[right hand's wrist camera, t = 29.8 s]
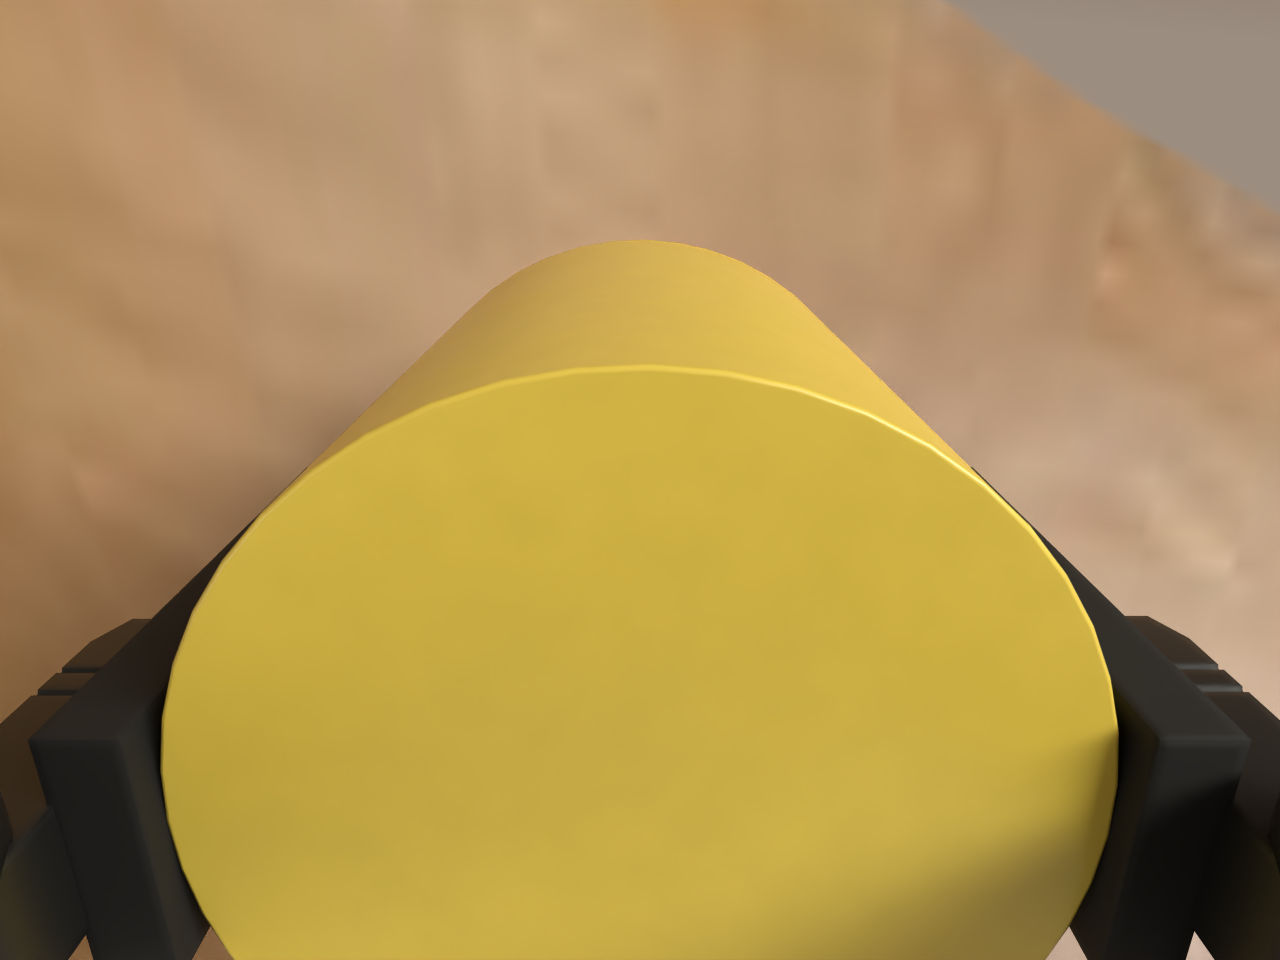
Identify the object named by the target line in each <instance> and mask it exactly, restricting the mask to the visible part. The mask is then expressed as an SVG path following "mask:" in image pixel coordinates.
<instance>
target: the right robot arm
mask: <svg viewBox="0 0 1280 960" xmlns="http://www.w3.org/2000/svg"><path fill="white" fill-rule="evenodd" d="M307 468H308V467H307ZM307 468H306V469H307ZM970 468H972V469H973V470H974V471H975V472H976V473H977V474H978V475H979V476H980V477H981V478H982V479H983V480H984V481H985V482H986V483H987V484H988V485H989V486H990V487H991V488H992V489H993V490H994V491H995V492H996V493H997V494H998V495H999V496H1000V497H1001V498H1002V499H1003V500H1004V501H1005V502H1006V503H1007V504H1008V505H1009V506H1010V507H1011V508H1012V509H1013V510H1014V511H1015V512H1016V513H1018V514H1019V515H1020V516H1021V517H1022V518H1023V519H1024V520H1025V521H1026V522H1027V523H1028V524H1029V525H1030V526H1031V528H1032V529H1033V530H1034V532H1035V533H1036V534H1037V536H1038V537H1039V538H1040V540H1041V541H1042V542H1043V544H1044V545H1045V546H1046V548H1047V549H1048V550H1049V552H1050V553H1051V554H1052V556H1053V557H1054V558H1055V560H1056V561H1057V562H1058V564H1059V565H1060V566H1061V568H1062V569H1063V570H1064V572H1065V573H1066V574H1067V576H1068V578H1069V580H1070V582H1071V584H1072V586H1073V588H1074V590H1075V591H1076V593H1077V595H1078V597H1079V599H1080V601H1081V603H1082V605H1083V607H1084V609H1085V611H1086V612H1087V614H1088V616H1089V618H1090V620H1091V622H1092V624H1093V626H1094V629H1095V632H1096V635H1097V638H1098V641H1099V644H1100V647H1101V651H1102V654H1103V657H1104V660H1105V663H1106V666H1107V669H1108V672H1109V675H1110V678H1111V685H1112V691H1113V698H1114V705H1115V712H1116V718H1117V725H1118V732H1119V745H1118V787H1117V792H1116V797H1115V803H1114V808H1113V814H1112V819H1111V825H1110V830H1109V835H1108V838H1107V841H1106V844H1105V847H1104V850H1103V853H1102V855H1101V858H1100V861H1099V864H1098V867H1097V870H1096V873H1095V876H1094V878H1093V881H1092V883H1091V885H1090V887H1089V889H1088V891H1087V893H1086V895H1085V897H1084V899H1083V901H1082V903H1081V905H1080V906H1079V908H1078V910H1077V912H1076V914H1075V916H1074V918H1073V920H1072V922H1071V924H1070V926H1069V927H1070V929H1071V930H1072V932H1073V934H1074V936H1075V938H1076V940H1077V941H1078V943H1079V945H1080V947H1081V949H1082V951H1083V952H1084V954H1085V956H1086V958H1087V960H1186V957H1187V954H1188V950H1189V947H1190V944H1191V940H1192V937H1193V934H1194V931H1195V933H1196V934H1197V935H1198V937H1199V938H1200V940H1201V941H1202V942H1203V944H1204V945H1205V947H1206V948H1207V950H1208V951H1209V952H1210V954H1211V955H1212V957H1213V958H1214V960H1280V720H1279V719H1278V718H1277V717H1276V716H1275V715H1273V714H1272V713H1271V712H1270V711H1269V710H1268V709H1267V708H1266V707H1265V706H1263V705H1262V704H1261V703H1260V702H1259V701H1258V700H1257V699H1256V698H1255V697H1253V696H1252V695H1251V694H1250V693H1249V692H1243V690H1242V686H1241V685H1240V684H1239V683H1238V682H1237V681H1236V680H1235V679H1233V678H1232V677H1231V676H1230V675H1229V674H1228V673H1227V672H1226V671H1225V670H1219V669H1218V664H1217V663H1216V662H1215V661H1214V660H1212V659H1211V658H1210V657H1209V656H1208V655H1207V654H1206V653H1205V652H1204V651H1202V650H1201V649H1200V648H1199V647H1198V646H1197V645H1196V644H1195V643H1194V642H1192V641H1191V640H1190V639H1189V638H1187V637H1186V636H1184V635H1182V634H1180V633H1178V632H1176V631H1174V630H1172V629H1171V628H1169V627H1167V626H1165V625H1163V624H1161V623H1159V622H1157V621H1156V620H1154V619H1152V618H1150V617H1148V616H1124V615H1123V614H1122V613H1121V612H1120V611H1119V610H1118V609H1117V608H1116V607H1115V606H1114V605H1113V604H1112V603H1111V602H1110V601H1109V600H1108V599H1107V598H1106V597H1105V596H1104V595H1103V594H1102V593H1101V592H1100V591H1099V590H1098V589H1097V588H1095V587H1094V586H1093V585H1092V584H1091V583H1090V582H1089V581H1088V580H1087V579H1086V578H1085V577H1084V576H1083V575H1082V574H1081V573H1080V572H1079V571H1078V570H1077V569H1076V568H1075V567H1074V566H1073V565H1072V564H1071V563H1070V562H1069V561H1068V560H1067V559H1066V558H1065V557H1064V556H1063V555H1062V554H1061V553H1060V552H1059V551H1058V550H1057V549H1056V548H1055V547H1053V546H1052V545H1051V544H1050V543H1049V542H1048V541H1047V540H1046V539H1045V538H1044V537H1043V536H1042V535H1041V534H1040V533H1039V532H1038V531H1037V530H1036V529H1035V528H1034V527H1033V526H1032V525H1031V524H1030V523H1029V522H1028V521H1027V520H1026V519H1025V518H1024V517H1023V516H1022V515H1021V514H1020V513H1019V512H1018V511H1017V510H1016V509H1015V508H1014V507H1012V506H1011V505H1010V504H1009V503H1008V502H1007V501H1006V500H1005V499H1004V498H1003V497H1002V496H1001V495H1000V494H999V493H998V492H997V491H996V490H995V489H994V488H993V487H992V486H991V485H990V484H989V483H988V482H987V481H986V480H985V479H984V478H983V477H982V476H981V475H980V474H979V473H978V472H977V471H976V470H975V469H974V468H973V467H970ZM306 469H305V470H306ZM305 470H304V471H305ZM304 471H303V472H304ZM291 483H292V482H291ZM291 483H290V484H291ZM290 484H289V485H290ZM289 485H288V486H289ZM288 486H287V487H288ZM287 487H286V488H287ZM286 488H285V489H286ZM285 489H284V490H285ZM284 490H283V491H284ZM283 491H282V492H283ZM282 492H281V493H282ZM281 493H280V494H281ZM280 494H279V495H280ZM279 495H278V496H279ZM278 496H277V497H278ZM277 497H276V498H277ZM276 498H275V499H276ZM275 499H274V500H275ZM274 500H273V501H274ZM273 501H272V502H273ZM272 502H271V503H272ZM271 503H270V504H271ZM270 504H269V505H270ZM269 505H268V506H269ZM268 506H267V507H268ZM267 507H266V508H267ZM266 508H265V509H266ZM265 509H264V510H265ZM260 514H261V513H260ZM260 514H259V515H260ZM259 515H258V516H259ZM258 516H257V517H258ZM257 517H256V518H257ZM256 518H255V519H254V520H253V521H252V522H250V523H249V524H248V525H247V526H246V527H245V528H244V529H243V530H242V531H241V532H240V533H239V534H238V535H237V536H236V537H235V538H234V539H233V540H232V541H231V542H230V543H229V544H228V545H227V546H226V547H225V548H224V549H223V550H222V551H221V552H220V553H219V554H218V555H217V556H216V557H215V558H214V559H213V560H212V561H210V562H209V563H208V564H207V565H206V566H205V567H204V568H203V569H202V570H201V571H200V572H199V573H198V574H197V575H196V576H195V577H194V578H193V579H192V580H191V581H190V582H189V583H188V584H187V585H186V586H185V587H184V588H183V589H182V590H181V591H180V592H179V593H178V594H177V595H176V596H175V597H174V598H173V599H172V600H171V601H169V602H168V603H167V604H166V605H165V606H164V607H163V608H162V609H161V610H160V611H159V612H158V613H157V614H156V615H155V616H154V617H153V618H152V619H132V620H130V621H128V622H126V623H125V624H123V625H121V626H119V627H117V628H115V629H113V630H112V631H110V632H108V633H106V634H104V635H102V636H100V637H99V638H97V639H95V640H93V641H91V642H90V643H89V644H88V645H87V646H86V647H84V648H83V649H82V650H81V651H80V652H79V653H78V654H77V655H76V656H75V657H73V658H72V659H71V660H70V661H69V662H68V663H67V664H66V665H65V666H64V667H62V673H56V674H55V675H54V676H53V677H51V678H50V679H49V680H48V681H47V682H46V683H45V684H44V685H43V686H42V687H40V688H39V689H38V694H37V696H31V697H29V698H28V699H27V700H26V701H25V702H24V703H23V704H22V705H21V706H20V707H18V708H17V709H16V710H15V711H14V712H13V713H12V714H11V715H10V716H9V717H7V718H6V719H5V720H4V721H3V722H2V723H1V724H0V960H68V959H69V958H70V956H71V955H72V954H73V952H74V951H75V949H76V948H77V946H78V945H79V944H80V942H81V941H82V939H83V938H84V936H85V935H86V936H87V939H88V943H89V946H90V949H91V953H92V956H93V959H94V960H192V959H193V957H194V955H195V953H196V951H197V949H198V948H199V946H200V944H201V942H202V940H203V938H204V937H205V935H206V933H207V931H208V929H209V927H210V924H209V923H208V921H207V920H206V918H205V917H204V915H203V913H202V911H201V909H200V907H199V905H198V903H197V901H196V899H195V896H194V894H193V892H192V890H191V888H190V886H189V884H188V882H187V879H186V877H185V875H184V873H183V871H182V869H181V866H180V862H179V859H178V856H177V852H176V849H175V845H174V842H173V839H172V835H171V832H170V829H169V825H168V822H167V816H166V809H165V802H164V794H163V787H162V779H161V772H160V764H161V730H162V714H163V709H164V704H165V699H166V694H167V689H168V684H169V679H170V674H171V669H172V664H173V661H174V658H175V656H176V653H177V650H178V648H179V645H180V642H181V640H182V637H183V635H184V632H185V629H186V627H187V624H188V621H189V619H190V616H191V614H192V611H193V609H194V607H195V606H196V604H197V602H198V601H199V599H200V597H201V595H202V594H203V592H204V590H205V589H206V587H207V585H208V584H209V582H210V580H211V578H212V577H213V575H214V573H215V572H216V570H217V568H218V566H219V565H220V563H221V561H222V560H223V559H224V557H225V556H226V555H227V554H228V552H229V551H230V550H231V549H232V548H233V546H234V545H235V544H236V543H237V542H238V540H239V539H240V538H241V537H242V535H243V534H244V533H245V532H246V531H247V529H248V528H249V527H250V526H251V525H252V523H253V522H254V521H255V520H256Z"/></svg>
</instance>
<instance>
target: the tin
mask: <svg viewBox="0 0 1280 960" xmlns="http://www.w3.org/2000/svg"><path fill="white" fill-rule="evenodd" d="M1118 745H1119V732H1118V725H1117V718H1116V712H1115V705H1114V698H1113V691H1112V685H1111V678H1110V675H1109V672H1108V669H1107V666H1106V663H1105V660H1104V657H1103V654H1102V651H1101V647H1100V644H1099V641H1098V638H1097V635H1096V632H1095V629H1094V626H1093V624H1092V622H1091V620H1090V618H1089V616H1088V614H1087V612H1086V611H1085V609H1084V607H1083V605H1082V603H1081V601H1080V599H1079V597H1078V595H1077V593H1076V591H1075V590H1074V588H1073V586H1072V584H1071V582H1070V580H1069V578H1068V576H1067V574H1066V573H1065V572H1064V570H1063V569H1062V568H1061V566H1060V565H1059V564H1058V562H1057V561H1056V560H1055V558H1054V557H1053V556H1052V554H1051V553H1050V552H1049V550H1048V549H1047V548H1046V546H1045V545H1044V544H1043V542H1042V541H1041V540H1040V538H1039V537H1038V536H1037V534H1036V533H1035V532H1034V530H1033V529H1032V528H1031V526H1030V525H1029V524H1028V523H1027V522H1026V521H1025V520H1024V519H1023V518H1022V517H1021V516H1020V515H1019V514H1018V513H1016V512H1015V511H1014V510H1013V509H1012V508H1011V507H1010V506H1009V505H1008V504H1007V503H1006V502H1005V501H1004V500H1003V499H1002V498H1001V497H1000V496H999V495H998V494H997V493H996V492H995V491H994V490H993V489H992V488H991V487H990V486H989V485H988V484H987V483H986V482H985V481H984V480H983V479H982V478H981V477H980V476H979V475H978V474H977V473H976V472H975V471H974V470H973V469H972V468H970V467H969V466H968V465H967V464H966V463H965V462H964V461H963V460H962V459H961V458H960V457H959V456H958V455H957V454H956V453H955V452H954V451H953V450H952V449H951V448H950V447H949V446H948V445H947V444H946V443H945V442H944V441H943V440H942V439H941V438H940V437H939V436H938V435H937V434H936V433H935V432H934V431H933V430H932V429H931V428H930V427H929V426H928V425H927V424H926V423H924V422H923V421H922V420H921V419H920V418H919V417H918V416H917V415H916V414H915V413H914V412H913V411H912V410H911V409H910V408H909V407H908V406H907V405H906V404H905V403H904V402H903V401H902V400H901V399H900V398H899V397H898V396H897V395H896V394H895V393H894V392H893V391H892V390H891V389H890V388H889V387H888V386H887V385H886V384H885V383H884V382H883V381H882V380H881V379H880V378H878V377H877V376H876V375H875V374H874V373H873V372H872V371H871V370H870V369H869V368H868V367H867V366H866V365H865V364H864V363H863V362H862V361H861V360H860V359H859V358H858V357H857V356H856V355H855V354H854V353H853V352H852V351H851V350H850V349H849V348H848V347H847V346H846V345H845V344H844V343H843V342H842V341H841V340H840V339H839V338H838V337H837V336H836V335H835V334H834V333H832V332H831V331H830V330H829V329H828V328H827V327H826V326H825V325H824V324H823V323H822V322H821V321H820V320H819V319H818V318H817V317H816V316H815V315H814V314H813V313H812V312H811V311H810V310H809V309H808V308H807V307H806V306H805V305H804V304H803V303H802V302H801V301H800V300H799V299H798V298H797V297H796V296H795V295H793V294H792V293H790V292H789V291H788V290H786V289H785V288H784V287H782V286H781V285H780V284H778V283H777V282H775V281H774V280H773V279H771V278H770V277H769V276H767V275H765V274H763V273H761V272H759V271H757V270H756V269H754V268H752V267H750V266H748V265H746V264H744V263H743V262H741V261H738V260H736V259H733V258H730V257H728V256H725V255H722V254H719V253H717V252H714V251H711V250H708V249H704V248H699V247H695V246H690V245H686V244H682V243H677V242H665V241H654V240H628V241H610V242H605V243H599V244H594V245H589V246H583V247H578V248H575V249H572V250H569V251H566V252H563V253H560V254H557V255H554V256H551V257H548V258H546V259H544V260H542V261H540V262H538V263H535V264H533V265H531V266H529V267H527V268H525V269H523V270H521V271H519V272H517V273H516V274H514V275H513V276H512V277H510V278H509V279H507V280H506V281H504V282H503V283H501V284H500V285H498V286H497V287H495V288H494V289H492V290H491V291H490V292H489V293H488V294H487V295H485V296H484V297H483V298H482V299H481V300H480V301H479V302H478V303H477V304H475V305H474V306H473V307H472V308H471V309H470V310H469V311H468V312H467V313H466V314H465V315H464V316H463V317H462V318H460V319H459V320H458V321H457V322H456V323H455V324H454V325H453V326H452V327H451V328H450V329H449V330H448V331H447V332H446V333H445V334H444V335H443V336H442V337H441V338H440V339H439V340H438V341H437V342H436V343H435V344H434V345H433V346H432V347H431V348H430V349H429V350H428V351H427V352H426V353H425V354H424V355H423V356H421V357H420V358H419V359H418V360H417V361H416V362H415V363H414V364H413V365H412V366H411V367H410V368H409V369H408V370H407V371H406V372H405V373H404V374H403V375H402V376H401V377H400V378H399V379H398V380H397V381H396V382H395V383H394V384H393V385H392V386H391V387H390V388H389V389H388V390H387V391H386V392H385V393H384V394H383V395H381V396H380V397H379V398H378V399H377V400H376V401H375V402H374V403H373V404H372V405H371V406H370V407H369V408H368V409H367V410H366V411H365V412H364V413H363V414H362V415H361V416H360V417H359V418H358V419H357V420H356V421H355V422H354V423H353V424H352V425H351V426H350V427H349V428H348V429H347V430H346V431H345V432H344V433H342V434H341V435H340V436H339V437H338V438H337V439H336V440H335V441H334V442H333V443H332V444H331V445H330V446H329V447H328V448H327V449H326V450H325V451H324V452H323V453H322V454H321V455H320V456H319V457H318V458H317V459H316V460H315V461H314V462H313V463H312V464H311V465H310V466H309V467H308V468H307V469H306V470H305V471H304V472H302V473H301V474H300V475H299V476H298V477H297V478H296V479H295V480H294V481H293V482H292V483H291V484H290V485H289V486H288V487H287V488H286V489H285V490H284V491H283V492H282V493H281V494H280V495H279V496H278V497H277V498H276V499H275V500H274V501H273V502H272V503H271V504H270V505H269V506H268V507H267V508H266V509H265V510H263V511H262V512H261V514H260V515H259V516H258V517H257V518H256V520H255V521H254V522H253V523H252V525H251V526H250V527H249V528H248V529H247V531H246V532H245V533H244V534H243V535H242V537H241V538H240V539H239V540H238V542H237V543H236V544H235V545H234V546H233V548H232V549H231V550H230V551H229V552H228V554H227V555H226V556H225V557H224V559H223V560H222V561H221V563H220V565H219V566H218V568H217V570H216V572H215V573H214V575H213V577H212V578H211V580H210V582H209V584H208V585H207V587H206V589H205V590H204V592H203V594H202V595H201V597H200V599H199V601H198V602H197V604H196V606H195V607H194V609H193V611H192V614H191V616H190V619H189V621H188V624H187V627H186V629H185V632H184V635H183V637H182V640H181V642H180V645H179V648H178V650H177V653H176V656H175V658H174V661H173V664H172V669H171V674H170V679H169V684H168V689H167V694H166V699H165V704H164V709H163V714H162V730H161V764H160V772H161V779H162V787H163V794H164V802H165V809H166V816H167V822H168V825H169V829H170V832H171V835H172V839H173V842H174V845H175V849H176V852H177V856H178V859H179V862H180V866H181V869H182V871H183V873H184V875H185V877H186V879H187V882H188V884H189V886H190V888H191V890H192V892H193V894H194V896H195V899H196V901H197V903H198V905H199V907H200V909H201V911H202V913H203V915H204V917H205V918H206V920H207V921H208V923H209V924H210V926H211V927H212V929H213V930H214V932H215V933H216V935H217V936H218V938H219V939H220V941H221V943H222V944H223V946H224V947H225V949H226V950H227V952H228V953H229V955H230V956H231V957H232V958H233V960H1045V959H1046V958H1047V957H1048V955H1049V954H1050V952H1051V951H1052V950H1053V948H1054V947H1055V945H1056V944H1057V943H1058V941H1059V940H1060V938H1061V937H1062V936H1063V934H1064V933H1065V931H1066V930H1067V928H1068V927H1069V926H1070V924H1071V922H1072V920H1073V918H1074V916H1075V914H1076V912H1077V910H1078V908H1079V906H1080V905H1081V903H1082V901H1083V899H1084V897H1085V895H1086V893H1087V891H1088V889H1089V887H1090V885H1091V883H1092V881H1093V878H1094V876H1095V873H1096V870H1097V867H1098V864H1099V861H1100V858H1101V855H1102V853H1103V850H1104V847H1105V844H1106V841H1107V838H1108V835H1109V830H1110V825H1111V819H1112V814H1113V808H1114V803H1115V797H1116V792H1117V787H1118Z"/></svg>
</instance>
